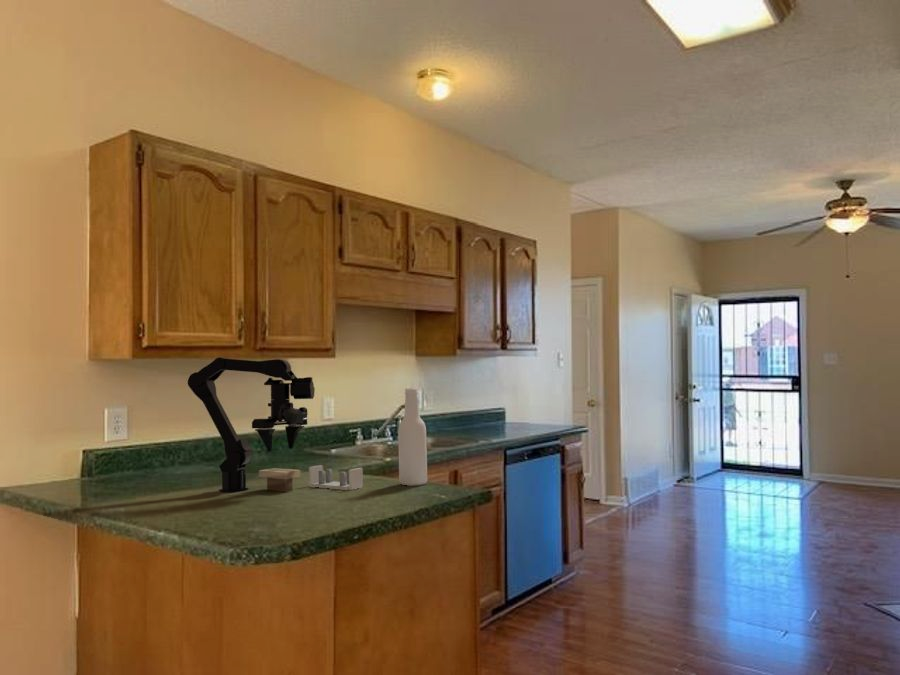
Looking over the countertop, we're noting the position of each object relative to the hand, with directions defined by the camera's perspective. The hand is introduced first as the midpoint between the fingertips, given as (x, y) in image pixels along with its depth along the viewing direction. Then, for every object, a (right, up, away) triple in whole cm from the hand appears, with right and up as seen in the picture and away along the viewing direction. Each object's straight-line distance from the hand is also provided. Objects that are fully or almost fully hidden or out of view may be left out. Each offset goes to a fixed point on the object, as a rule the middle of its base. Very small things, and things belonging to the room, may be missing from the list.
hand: (280, 450), depth 214 cm
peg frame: (+17, -12, +1) cm, 21 cm away
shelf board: (0, -8, -2) cm, 8 cm away
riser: (0, -12, -2) cm, 12 cm away
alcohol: (+41, -11, +3) cm, 43 cm away
